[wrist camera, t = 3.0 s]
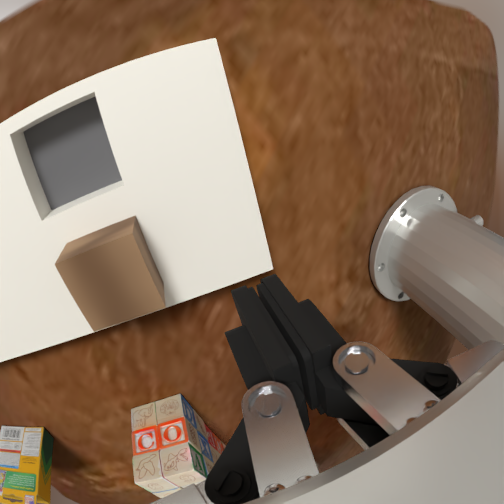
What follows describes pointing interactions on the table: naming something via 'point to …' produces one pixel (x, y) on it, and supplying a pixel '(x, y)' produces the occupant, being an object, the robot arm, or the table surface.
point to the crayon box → (25, 464)
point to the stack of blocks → (171, 446)
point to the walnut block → (112, 274)
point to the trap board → (125, 188)
